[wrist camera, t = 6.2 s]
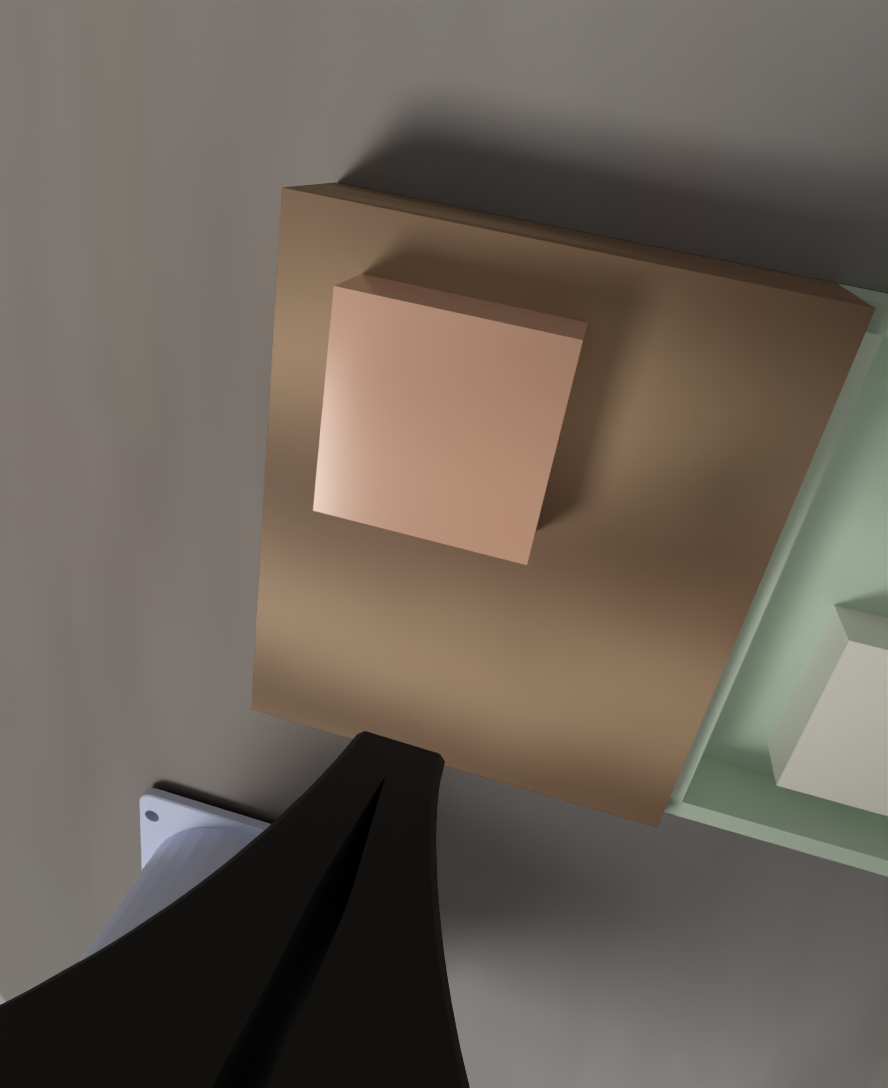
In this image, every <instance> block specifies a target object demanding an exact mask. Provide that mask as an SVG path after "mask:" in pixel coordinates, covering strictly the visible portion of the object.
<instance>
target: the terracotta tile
mask: <svg viewBox="0 0 888 1088" xmlns="http://www.w3.org/2000/svg"><path fill="white" fill-rule="evenodd" d="M587 326H588V322H583V321H579V320H574V319H569V318H565V317H560V316H555V315H551V314H546V313H541V312H537V311H532V310H527V309H523V308H518V307H514V306H509V305H504V304H500V303H495V302H490V301H486V300H481V299H476V298H472V297H467V296H462V295H458V294H453V293H448V292H444V291H439V290H435V289H430V288H425V287H421V286H416V285H411V284H407V283H402V282H397V281H393V280H388V279H383V278H379V277H374V276H369V275H365V274H360V275H358V276H356V277H353V278H351V279H349V280H346V281H344V282H342V283H339V284H337V285H335V286H334V289H333V299H332V310H331V321H330V332H329V342H328V353H327V364H326V375H325V385H324V396H323V407H322V418H321V428H320V439H319V450H318V461H317V471H316V482H315V493H314V504H313V511H317V512H321V513H325V514H328V515H332V516H336V517H340V518H344V519H348V520H352V521H356V522H360V523H364V524H368V525H371V526H375V527H379V528H383V529H387V530H391V531H395V532H399V533H403V534H407V535H411V536H415V537H418V538H422V539H426V540H430V541H434V542H438V543H442V544H446V545H450V546H454V547H458V548H462V549H465V550H469V551H473V552H477V553H481V554H485V555H489V556H493V557H497V558H501V559H505V560H509V561H512V562H516V563H520V564H524V565H527V563H528V560H529V556H530V552H531V549H532V545H533V541H534V538H535V534H536V530H537V526H538V522H539V518H540V514H541V510H542V506H543V502H544V498H545V494H546V490H547V486H548V482H549V478H550V474H551V470H552V466H553V462H554V458H555V454H556V450H557V446H558V442H559V438H560V434H561V430H562V426H563V422H564V418H565V414H566V410H567V406H568V402H569V398H570V394H571V390H572V386H573V382H574V378H575V374H576V370H577V366H578V362H579V358H580V354H581V350H582V346H583V342H584V338H585V334H586V330H587Z"/></svg>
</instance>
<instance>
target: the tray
mask: <svg viewBox="0 0 888 1088" xmlns="http://www.w3.org/2000/svg"><path fill="white" fill-rule="evenodd" d="M839 285H840V286H842V287H844V288H845V289H847V290H848V291H850V292H851V293H853V294H854V295H856V296H857V297H859V298H860V299H862V300H863V301H865V302H867V303H868V304H870V305H871V306H873V307H874V308H876V309H875V311H874V314H873V316H872V319H871V321H870V323H869V326H868V328H867V330H866V333H865V335H864V338H863V340H862V342H861V345H860V347H859V349H858V352H857V354H856V357H855V359H854V361H853V364H852V366H851V368H850V371H849V373H848V376H847V378H846V380H845V383H844V385H843V387H842V390H841V392H840V395H839V397H838V399H837V402H836V404H835V406H834V409H833V411H832V414H831V416H830V418H829V421H828V423H827V425H826V428H825V430H824V433H823V435H822V437H821V440H820V442H819V444H818V447H817V449H816V451H815V454H814V456H813V459H812V461H811V463H810V466H809V468H808V470H807V473H806V475H805V478H804V480H803V482H802V485H801V487H800V489H799V492H798V494H797V497H796V499H795V501H794V504H793V506H792V508H791V511H790V513H789V516H788V518H787V520H786V523H785V525H784V527H783V530H782V532H781V535H780V537H779V539H778V542H777V544H776V546H775V549H774V551H773V554H772V556H771V558H770V561H769V563H768V565H767V568H766V570H765V573H764V575H763V577H762V580H761V582H760V584H759V587H758V589H757V592H756V594H755V596H754V599H753V601H752V603H751V606H750V608H749V611H748V613H747V615H746V618H745V620H744V622H743V625H742V627H741V630H740V632H739V634H738V637H737V639H736V641H735V644H734V646H733V649H732V651H731V653H730V656H729V658H728V660H727V663H726V665H725V668H724V670H723V672H722V675H721V677H720V679H719V682H718V684H717V687H716V689H715V691H714V694H713V696H712V698H711V701H710V703H709V706H708V708H707V710H706V713H705V715H704V717H703V720H702V722H701V724H700V727H699V729H698V732H697V734H696V736H695V739H694V741H693V743H692V746H691V748H690V751H689V753H688V755H687V758H686V760H685V762H684V765H683V767H682V770H681V772H680V774H679V777H678V779H677V781H676V784H675V786H674V789H673V791H672V793H671V796H670V798H669V800H668V803H667V805H666V808H665V810H664V812H665V813H669V814H672V815H676V816H679V817H683V818H686V819H690V820H693V821H697V822H700V823H704V824H707V825H710V826H714V827H717V828H721V829H724V830H728V831H731V832H735V833H738V834H742V835H745V836H749V837H752V838H756V839H759V840H763V841H766V842H769V843H773V844H776V845H780V846H783V847H787V848H790V849H794V850H797V851H801V852H804V853H808V854H811V855H815V856H818V857H822V858H825V859H828V860H832V861H835V862H839V863H842V864H846V865H849V866H853V867H856V868H860V869H863V870H867V871H870V872H874V873H877V874H881V875H884V876H887V877H888V816H885V815H882V814H878V813H874V812H871V811H867V810H864V809H860V808H856V807H853V806H849V805H845V804H842V803H838V802H835V801H831V800H827V799H824V798H820V797H816V796H813V795H809V794H806V793H802V792H798V791H795V790H791V789H787V788H784V787H780V786H777V785H776V781H775V777H774V772H773V767H772V763H771V758H770V753H769V749H768V744H767V743H768V741H769V739H770V737H771V735H772V733H773V730H774V728H775V726H776V724H777V722H778V720H779V718H780V716H781V714H782V712H783V709H784V707H785V705H786V703H787V701H788V699H789V697H790V695H791V693H792V691H793V688H794V686H795V684H796V682H797V680H798V678H799V676H800V674H801V672H802V670H803V667H804V665H805V663H806V661H807V659H808V657H809V655H810V653H811V651H812V649H813V646H814V644H815V642H816V640H817V638H818V636H819V634H820V632H821V630H822V628H823V625H824V623H825V621H826V619H827V617H828V615H829V613H830V611H831V609H832V607H833V604H834V605H838V606H842V607H846V608H850V609H854V610H858V611H862V612H866V613H870V614H875V615H879V616H883V617H887V618H888V294H887V293H882V292H877V291H872V290H867V289H862V288H857V287H852V286H847V285H842V284H839Z"/></svg>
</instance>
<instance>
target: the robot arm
mask: <svg viewBox="0 0 888 1088" xmlns="http://www.w3.org/2000/svg"><path fill="white" fill-rule="evenodd" d="M444 764H445V761H444V759H443V758H442V756H441V755H440V754H439V753H436V752H433V751H429V750H426V749H423V748H420V747H416V746H413V745H410V744H406V743H403V742H400V741H397V740H393V739H390V738H387V737H383V736H380V735H377V734H374V733H370V732H367V731H363V732H361V733H359V734H357V735H356V736H355V737H354V739H353V740H352V741H351V743H350V744H349V745H348V746H347V747H346V749H345V750H344V751H343V752H342V753H341V755H340V756H339V757H338V758H337V759H336V760H335V761H334V762H333V764H332V765H331V766H330V767H329V768H328V769H327V770H326V771H325V772H324V773H323V774H322V775H321V776H320V777H319V778H318V779H317V781H316V782H315V783H314V784H313V785H312V786H311V787H310V788H309V789H308V790H307V791H306V792H305V793H304V794H303V795H301V796H300V797H299V798H298V799H297V800H296V801H295V802H294V803H293V804H292V805H291V806H290V807H289V808H288V809H287V810H286V811H285V812H284V813H283V814H282V815H281V816H280V817H279V818H277V819H276V820H275V821H274V822H273V823H272V824H270V823H266V822H263V821H260V820H257V819H253V818H250V817H247V816H244V815H240V814H237V813H234V812H231V811H227V810H224V809H221V808H218V807H215V806H211V805H208V804H205V803H202V802H198V801H195V800H192V799H189V798H185V797H182V796H179V795H176V794H172V793H169V792H166V791H163V790H159V789H155V788H151V789H147V790H146V791H145V792H144V794H143V795H142V796H141V797H140V831H141V862H142V871H141V872H140V874H139V875H138V877H137V878H136V879H135V881H134V882H133V884H132V885H131V887H130V888H129V890H128V891H127V892H126V894H125V895H124V897H123V898H122V900H121V901H120V902H119V904H118V905H117V907H116V908H115V910H114V911H113V913H112V914H111V915H110V917H109V918H108V920H107V921H106V923H105V924H104V925H103V927H102V928H101V930H100V931H99V933H98V934H97V935H96V937H95V938H94V940H93V941H92V943H91V944H90V946H89V947H88V948H87V950H86V951H85V953H84V954H83V956H82V957H81V958H80V960H79V961H78V963H76V964H74V965H73V966H71V967H69V968H67V969H66V970H64V971H62V972H60V973H58V974H57V975H55V976H53V977H51V978H50V979H48V980H46V981H44V982H43V983H41V984H39V985H37V986H35V987H34V988H32V989H30V990H28V991H26V992H24V993H23V994H21V995H19V996H17V997H15V998H13V999H11V1000H9V1001H7V1002H5V1003H3V1004H1V1005H0V1088H470V1087H469V1083H468V1079H467V1074H466V1070H465V1066H464V1062H463V1057H462V1053H461V1049H460V1044H459V1039H458V1034H457V1029H456V1023H455V1018H454V1013H453V1008H452V1002H451V996H450V990H449V984H448V977H447V971H446V964H445V957H444V949H443V941H442V932H441V922H440V911H439V900H438V885H437V858H436V821H437V803H438V793H439V785H440V780H441V776H442V772H443V768H444Z"/></svg>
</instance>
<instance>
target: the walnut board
mask: <svg viewBox="0 0 888 1088" xmlns="http://www.w3.org/2000/svg"><path fill="white" fill-rule="evenodd" d="M360 274H365V275H369V276H374V277H379V278H383V279H388V280H393V281H397V282H402V283H407V284H411V285H416V286H421V287H425V288H430V289H435V290H439V291H444V292H448V293H453V294H458V295H462V296H467V297H472V298H476V299H481V300H486V301H490V302H495V303H500V304H504V305H509V306H514V307H518V308H523V309H527V310H532V311H537V312H541V313H546V314H551V315H555V316H560V317H565V318H569V319H574V320H579V321H583V322H588V326H587V330H586V334H585V338H584V342H583V346H582V350H581V354H580V358H579V362H578V366H577V370H576V374H575V378H574V382H573V386H572V390H571V394H570V398H569V402H568V406H567V410H566V414H565V418H564V422H563V426H562V430H561V434H560V438H559V442H558V446H557V450H556V454H555V458H554V462H553V466H552V470H551V474H550V478H549V482H548V486H547V490H546V494H545V498H544V502H543V506H542V510H541V514H540V518H539V522H538V526H537V530H536V534H535V538H534V541H533V545H532V549H531V552H530V556H529V560H528V563H527V565H524V564H520V563H516V562H512V561H509V560H505V559H501V558H497V557H493V556H489V555H485V554H481V553H477V552H473V551H469V550H465V549H462V548H458V547H454V546H450V545H446V544H442V543H438V542H434V541H430V540H426V539H422V538H418V537H415V536H411V535H407V534H403V533H399V532H395V531H391V530H387V529H383V528H379V527H375V526H371V525H368V524H364V523H360V522H356V521H352V520H348V519H344V518H340V517H336V516H332V515H328V514H325V513H321V512H317V511H313V504H314V493H315V482H316V471H317V461H318V450H319V439H320V428H321V418H322V407H323V396H324V385H325V375H326V364H327V353H328V342H329V332H330V321H331V310H332V299H333V289H334V286H335V285H337V284H339V283H342V282H344V281H346V280H349V279H351V278H353V277H356V276H358V275H360ZM875 309H876V308H874V307H873V306H871V305H870V304H868V303H867V302H865V301H863V300H862V299H860V298H859V297H857V296H856V295H854V294H853V293H851V292H850V291H848V290H847V289H845V288H844V287H842V286H840V285H839V284H837V283H832V282H827V281H822V280H817V279H812V278H807V277H802V276H797V275H792V274H787V273H783V272H778V271H773V270H768V269H763V268H758V267H753V266H748V265H743V264H738V263H733V262H728V261H723V260H718V259H713V258H708V257H703V256H698V255H693V254H688V253H683V252H678V251H673V250H668V249H663V248H658V247H653V246H648V245H643V244H638V243H633V242H628V241H623V240H618V239H614V238H609V237H604V236H599V235H594V234H589V233H584V232H579V231H574V230H569V229H564V228H559V227H554V226H549V225H544V224H539V223H534V222H529V221H524V220H519V219H514V218H509V217H504V216H499V215H494V214H489V213H484V212H479V211H474V210H469V209H464V208H459V207H454V206H449V205H445V204H440V203H435V202H430V201H425V200H420V199H415V198H410V197H405V196H400V195H395V194H390V193H385V192H380V191H375V190H370V189H365V188H360V187H355V186H350V185H345V184H340V183H326V184H315V185H304V186H293V187H282V196H281V213H280V230H279V247H278V264H277V281H276V298H275V316H274V333H273V350H272V367H271V384H270V401H269V418H268V435H267V452H266V469H265V486H264V503H263V520H262V537H261V554H260V571H259V588H258V605H257V622H256V639H255V656H254V673H253V690H252V707H251V710H255V711H258V712H262V713H265V714H269V715H272V716H276V717H279V718H282V719H286V720H289V721H293V722H296V723H300V724H303V725H307V726H310V727H313V728H317V729H320V730H324V731H327V732H331V733H334V734H337V735H341V736H344V737H348V738H351V739H354V737H355V736H356V735H357V734H359V733H361V732H363V731H367V732H370V733H374V734H377V735H380V736H383V737H387V738H390V739H393V740H397V741H400V742H403V743H406V744H410V745H413V746H416V747H420V748H423V749H426V750H429V751H433V752H436V753H439V754H440V755H441V756H442V758H443V759H444V761H445V764H444V766H448V767H451V768H454V769H458V770H461V771H465V772H468V773H472V774H475V775H478V776H482V777H485V778H489V779H492V780H496V781H499V782H503V783H506V784H509V785H513V786H516V787H520V788H523V789H527V790H530V791H533V792H537V793H540V794H544V795H547V796H551V797H554V798H558V799H561V800H564V801H568V802H571V803H575V804H578V805H582V806H585V807H589V808H592V809H595V810H599V811H602V812H606V813H609V814H613V815H616V816H619V817H623V818H626V819H630V820H633V821H637V822H640V823H644V824H647V825H650V826H654V827H658V824H659V822H660V819H661V817H662V815H663V812H664V810H665V808H666V805H667V803H668V800H669V798H670V796H671V793H672V791H673V789H674V786H675V784H676V781H677V779H678V777H679V774H680V772H681V770H682V767H683V765H684V762H685V760H686V758H687V755H688V753H689V751H690V748H691V746H692V743H693V741H694V739H695V736H696V734H697V732H698V729H699V727H700V724H701V722H702V720H703V717H704V715H705V713H706V710H707V708H708V706H709V703H710V701H711V698H712V696H713V694H714V691H715V689H716V687H717V684H718V682H719V679H720V677H721V675H722V672H723V670H724V668H725V665H726V663H727V660H728V658H729V656H730V653H731V651H732V649H733V646H734V644H735V641H736V639H737V637H738V634H739V632H740V630H741V627H742V625H743V622H744V620H745V618H746V615H747V613H748V611H749V608H750V606H751V603H752V601H753V599H754V596H755V594H756V592H757V589H758V587H759V584H760V582H761V580H762V577H763V575H764V573H765V570H766V568H767V565H768V563H769V561H770V558H771V556H772V554H773V551H774V549H775V546H776V544H777V542H778V539H779V537H780V535H781V532H782V530H783V527H784V525H785V523H786V520H787V518H788V516H789V513H790V511H791V508H792V506H793V504H794V501H795V499H796V497H797V494H798V492H799V489H800V487H801V485H802V482H803V480H804V478H805V475H806V473H807V470H808V468H809V466H810V463H811V461H812V459H813V456H814V454H815V451H816V449H817V447H818V444H819V442H820V440H821V437H822V435H823V433H824V430H825V428H826V425H827V423H828V421H829V418H830V416H831V414H832V411H833V409H834V406H835V404H836V402H837V399H838V397H839V395H840V392H841V390H842V387H843V385H844V383H845V380H846V378H847V376H848V373H849V371H850V368H851V366H852V364H853V361H854V359H855V357H856V354H857V352H858V349H859V347H860V345H861V342H862V340H863V338H864V335H865V333H866V330H867V328H868V326H869V323H870V321H871V319H872V316H873V314H874V311H875Z"/></svg>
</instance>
